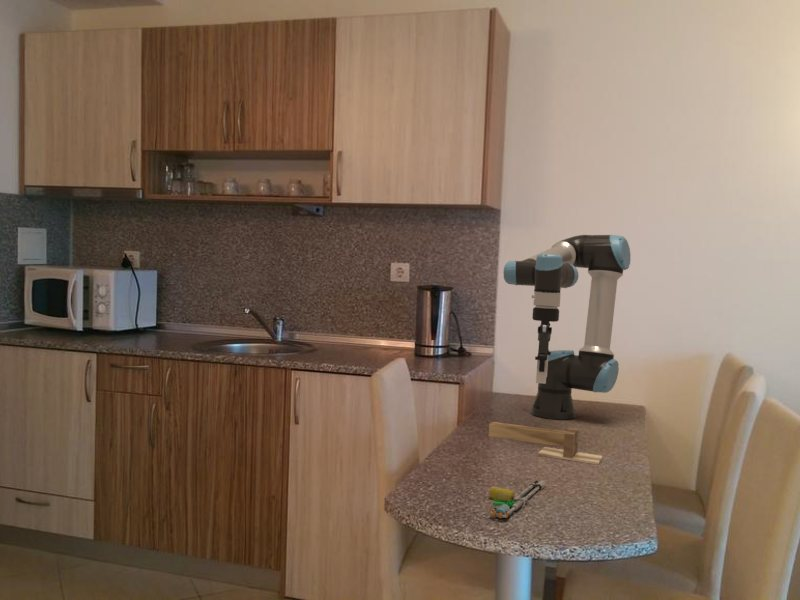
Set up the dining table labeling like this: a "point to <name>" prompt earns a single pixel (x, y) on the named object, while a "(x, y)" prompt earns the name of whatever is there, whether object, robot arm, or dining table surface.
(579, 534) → the dining table surface
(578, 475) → the dining table surface
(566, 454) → the fulcrum stand
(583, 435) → the dining table surface
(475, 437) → the dining table surface
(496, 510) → the flamethrower
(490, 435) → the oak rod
